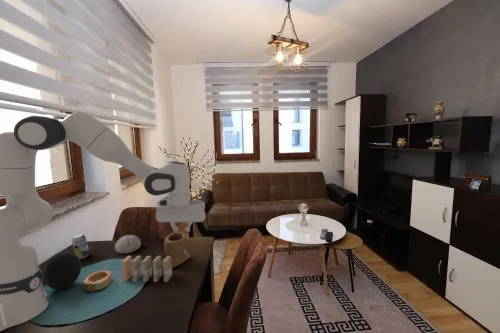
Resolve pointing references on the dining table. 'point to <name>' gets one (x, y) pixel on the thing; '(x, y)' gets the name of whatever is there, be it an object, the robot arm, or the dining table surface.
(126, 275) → the domino
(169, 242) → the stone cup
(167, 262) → the domino
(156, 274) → the domino
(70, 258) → the decorative egg
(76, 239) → the beverage can
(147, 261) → the domino
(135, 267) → the domino
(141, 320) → the dining table surface
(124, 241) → the sea urchin shell
